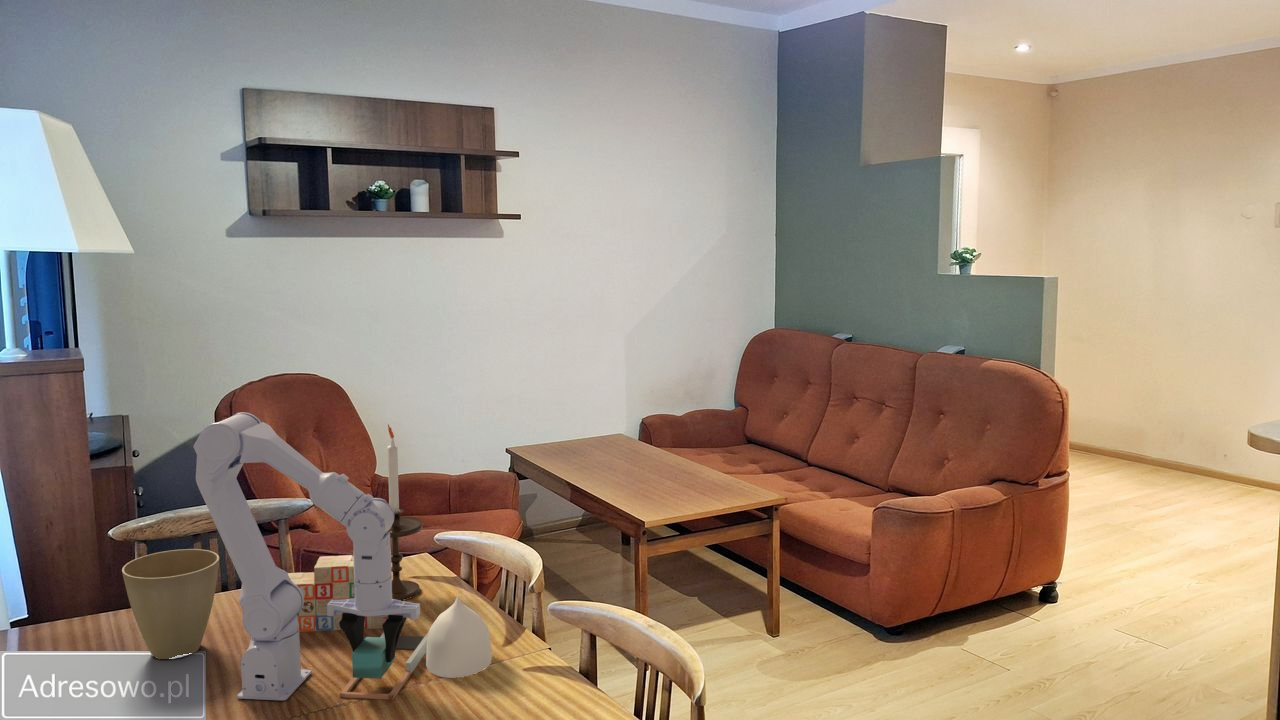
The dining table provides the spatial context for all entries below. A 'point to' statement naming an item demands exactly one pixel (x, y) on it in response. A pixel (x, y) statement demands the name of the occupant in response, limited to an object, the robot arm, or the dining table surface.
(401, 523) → the candlestick
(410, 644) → the channel
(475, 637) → the teardrop
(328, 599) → the stack of blocks
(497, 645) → the dining table surface
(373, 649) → the block
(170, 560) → the plant pot
